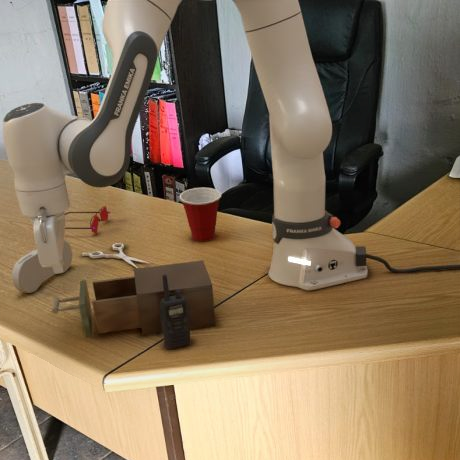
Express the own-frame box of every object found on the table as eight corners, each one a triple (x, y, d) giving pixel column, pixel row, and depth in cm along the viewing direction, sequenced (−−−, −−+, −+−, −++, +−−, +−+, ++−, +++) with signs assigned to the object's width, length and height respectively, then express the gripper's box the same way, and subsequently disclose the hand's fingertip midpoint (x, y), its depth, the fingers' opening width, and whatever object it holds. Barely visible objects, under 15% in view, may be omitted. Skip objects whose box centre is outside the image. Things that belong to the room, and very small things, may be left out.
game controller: (67, 264, 160) (61, 232, 155) (75, 265, 159) (69, 233, 154) (15, 297, 145) (6, 263, 140) (23, 299, 144) (15, 264, 140)
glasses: (96, 237, 175) (93, 220, 172) (39, 237, 178) (35, 220, 175) (112, 220, 187) (109, 203, 184) (58, 220, 189) (55, 203, 187)
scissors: (115, 240, 170) (163, 258, 157) (115, 243, 170) (163, 261, 157) (81, 253, 163) (128, 272, 151) (82, 255, 164) (128, 275, 151)
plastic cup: (188, 248, 165) (184, 202, 158) (179, 234, 174) (175, 190, 167) (228, 241, 167) (226, 196, 161) (218, 228, 176) (215, 185, 170)
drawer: (56, 342, 124) (48, 308, 120) (59, 315, 134) (52, 284, 130) (154, 328, 126) (149, 295, 123) (150, 303, 136) (146, 272, 132)
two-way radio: (166, 351, 120) (157, 279, 112) (159, 341, 124) (150, 270, 116) (194, 345, 122) (187, 272, 114) (186, 334, 125) (179, 264, 118)
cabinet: (142, 336, 126) (136, 294, 121) (139, 307, 137) (133, 268, 132) (215, 326, 128) (212, 284, 123) (206, 299, 138) (203, 260, 134)
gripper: (58, 216, 107) (74, 290, 114) (63, 183, 124) (77, 249, 132) (20, 221, 106) (38, 295, 113) (30, 186, 124) (46, 253, 131)
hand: (59, 270), depth 123 cm, fingers closed
